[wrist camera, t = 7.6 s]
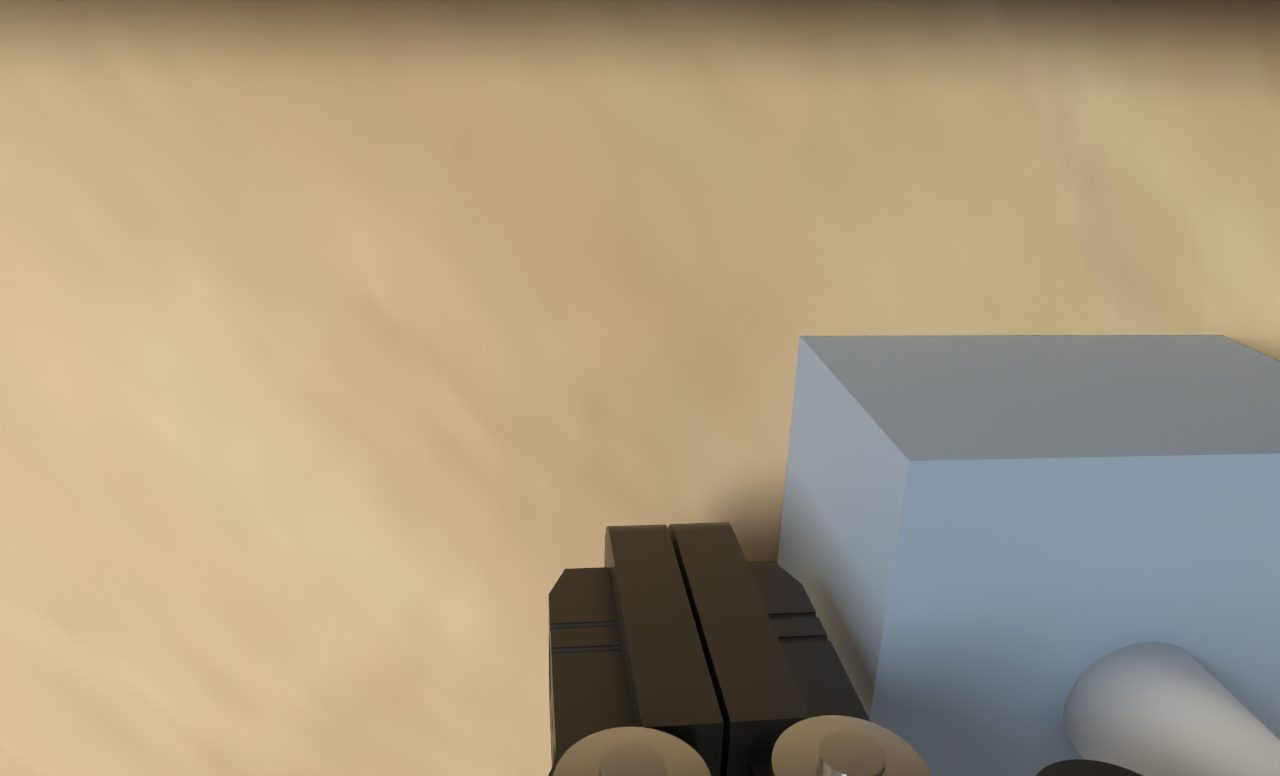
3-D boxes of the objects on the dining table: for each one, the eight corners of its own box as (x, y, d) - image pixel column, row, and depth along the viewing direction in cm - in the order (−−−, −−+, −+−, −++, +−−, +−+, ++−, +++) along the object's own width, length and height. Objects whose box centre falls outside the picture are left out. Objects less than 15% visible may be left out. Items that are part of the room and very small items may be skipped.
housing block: (795, 330, 13) (1012, 578, 7) (1208, 329, 13) (1698, 552, 8) (758, 695, 15) (901, 1104, 9) (1115, 677, 16) (1446, 1046, 10)
